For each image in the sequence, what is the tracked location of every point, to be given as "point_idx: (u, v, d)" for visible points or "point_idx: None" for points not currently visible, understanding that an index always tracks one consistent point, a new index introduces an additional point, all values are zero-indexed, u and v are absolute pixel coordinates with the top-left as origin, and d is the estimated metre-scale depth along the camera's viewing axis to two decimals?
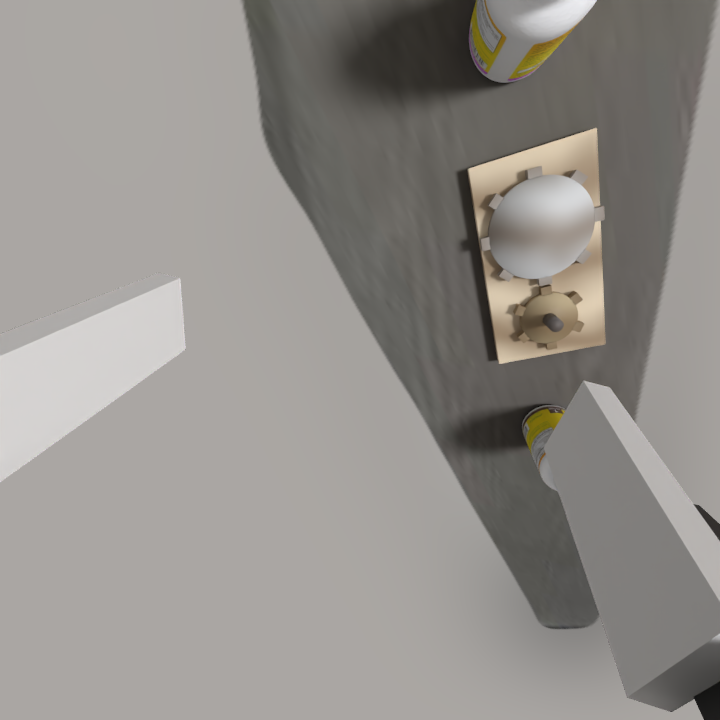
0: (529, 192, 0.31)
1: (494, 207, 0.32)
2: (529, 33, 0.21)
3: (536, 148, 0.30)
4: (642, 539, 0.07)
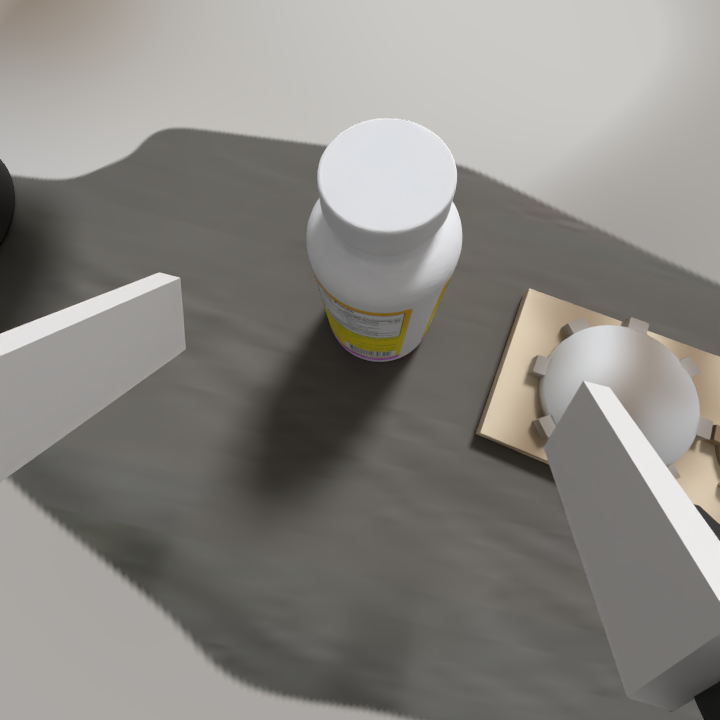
0: (562, 383, 0.21)
1: None
2: (436, 281, 0.14)
3: (510, 350, 0.22)
4: (642, 539, 0.07)
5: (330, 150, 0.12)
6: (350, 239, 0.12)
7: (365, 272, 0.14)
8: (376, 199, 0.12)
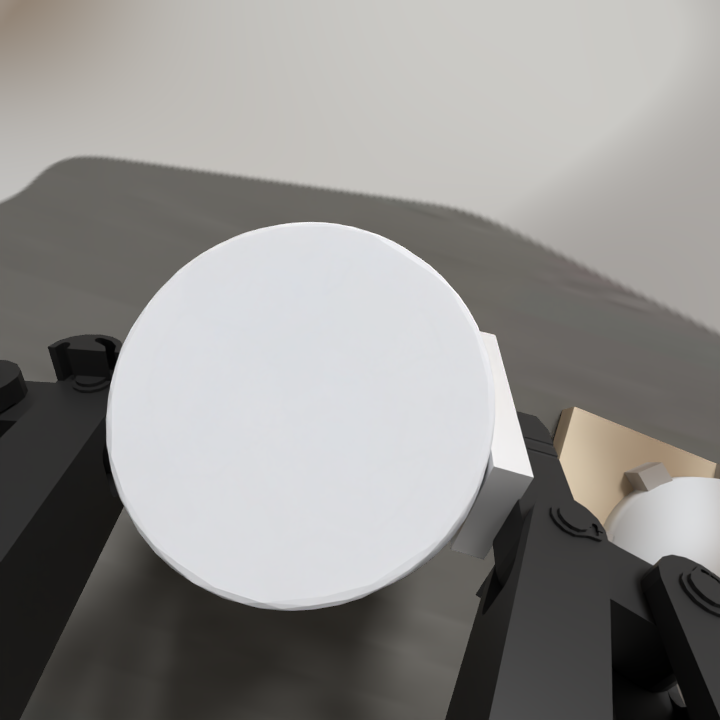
0: None
1: None
2: (435, 551, 0.07)
3: None
4: None
5: (154, 314, 0.05)
6: None
7: None
8: (263, 480, 0.04)
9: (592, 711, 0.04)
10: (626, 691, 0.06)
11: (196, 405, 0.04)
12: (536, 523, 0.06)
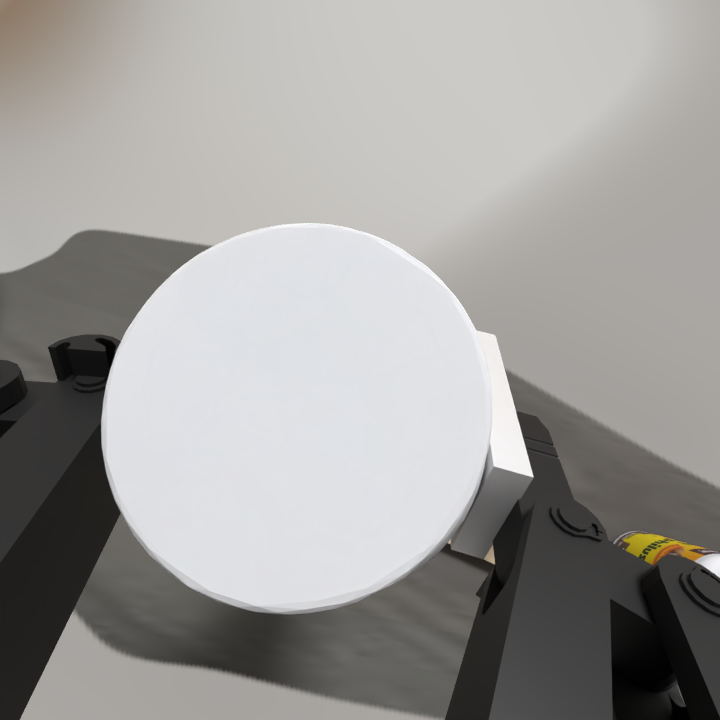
0: None
1: None
2: (433, 553, 0.07)
3: None
4: None
5: (149, 316, 0.05)
6: None
7: None
8: (258, 483, 0.04)
9: (592, 711, 0.04)
10: (627, 691, 0.06)
11: (191, 407, 0.04)
12: (536, 523, 0.06)
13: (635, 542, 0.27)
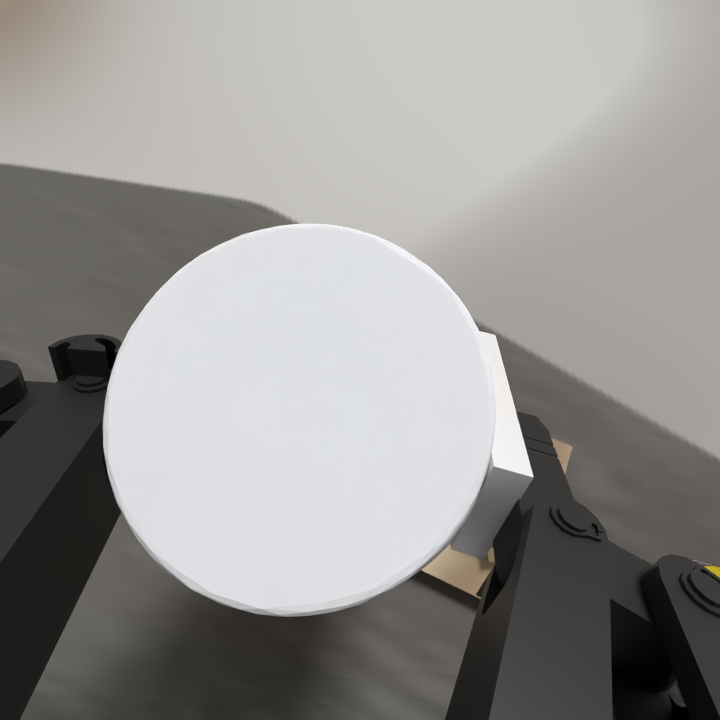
0: None
1: None
2: (435, 554, 0.07)
3: None
4: None
5: (151, 317, 0.05)
6: None
7: None
8: (261, 485, 0.04)
9: (592, 711, 0.04)
10: (626, 691, 0.06)
11: (194, 408, 0.04)
12: (536, 523, 0.06)
13: None
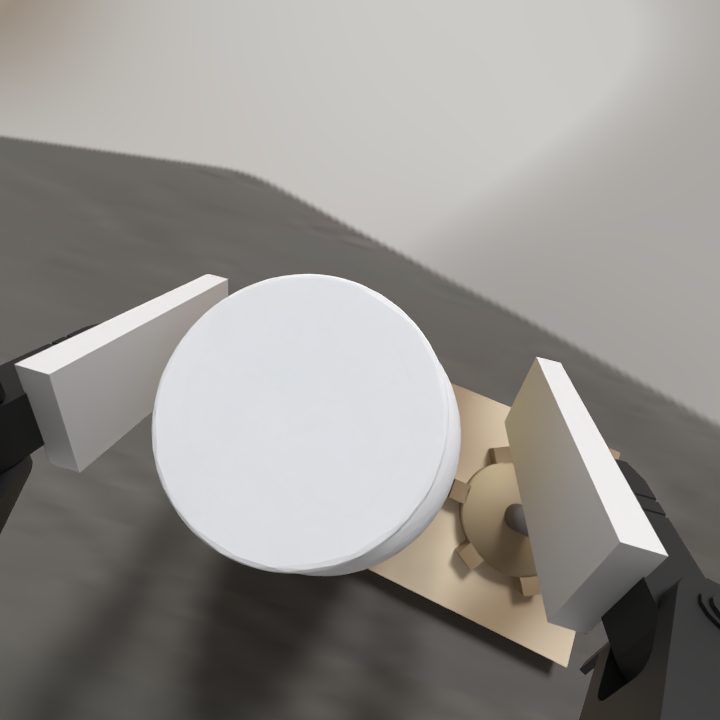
0: None
1: None
2: (413, 538, 0.08)
3: None
4: (567, 486, 0.08)
5: (186, 348, 0.06)
6: None
7: None
8: (270, 477, 0.05)
9: None
10: None
11: (220, 420, 0.06)
12: (682, 610, 0.05)
13: None
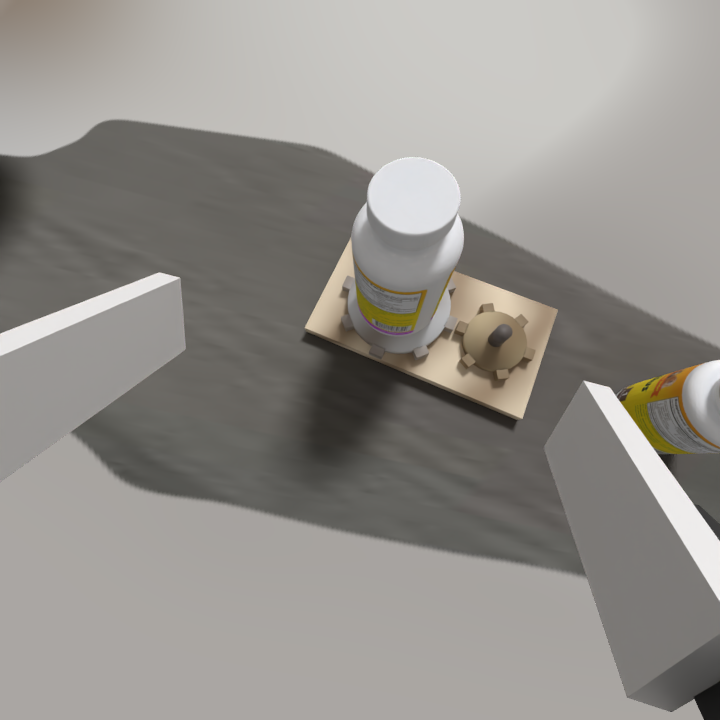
0: None
1: (350, 325, 0.30)
2: (445, 269, 0.20)
3: (333, 274, 0.32)
4: (642, 538, 0.07)
5: (375, 179, 0.18)
6: (388, 239, 0.18)
7: (396, 262, 0.20)
8: (407, 212, 0.18)
9: None
10: None
11: (389, 198, 0.18)
12: None
13: (638, 384, 0.27)
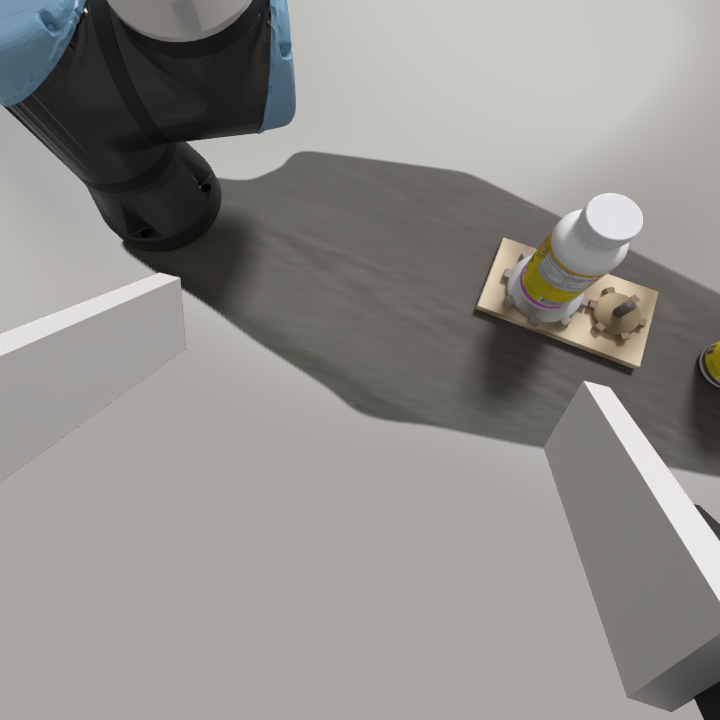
0: None
1: (513, 302, 0.42)
2: (620, 261, 0.33)
3: (493, 267, 0.44)
4: (642, 539, 0.07)
5: (589, 206, 0.31)
6: (597, 242, 0.31)
7: (592, 256, 0.32)
8: (612, 226, 0.30)
9: None
10: None
11: (600, 218, 0.30)
12: None
13: None
